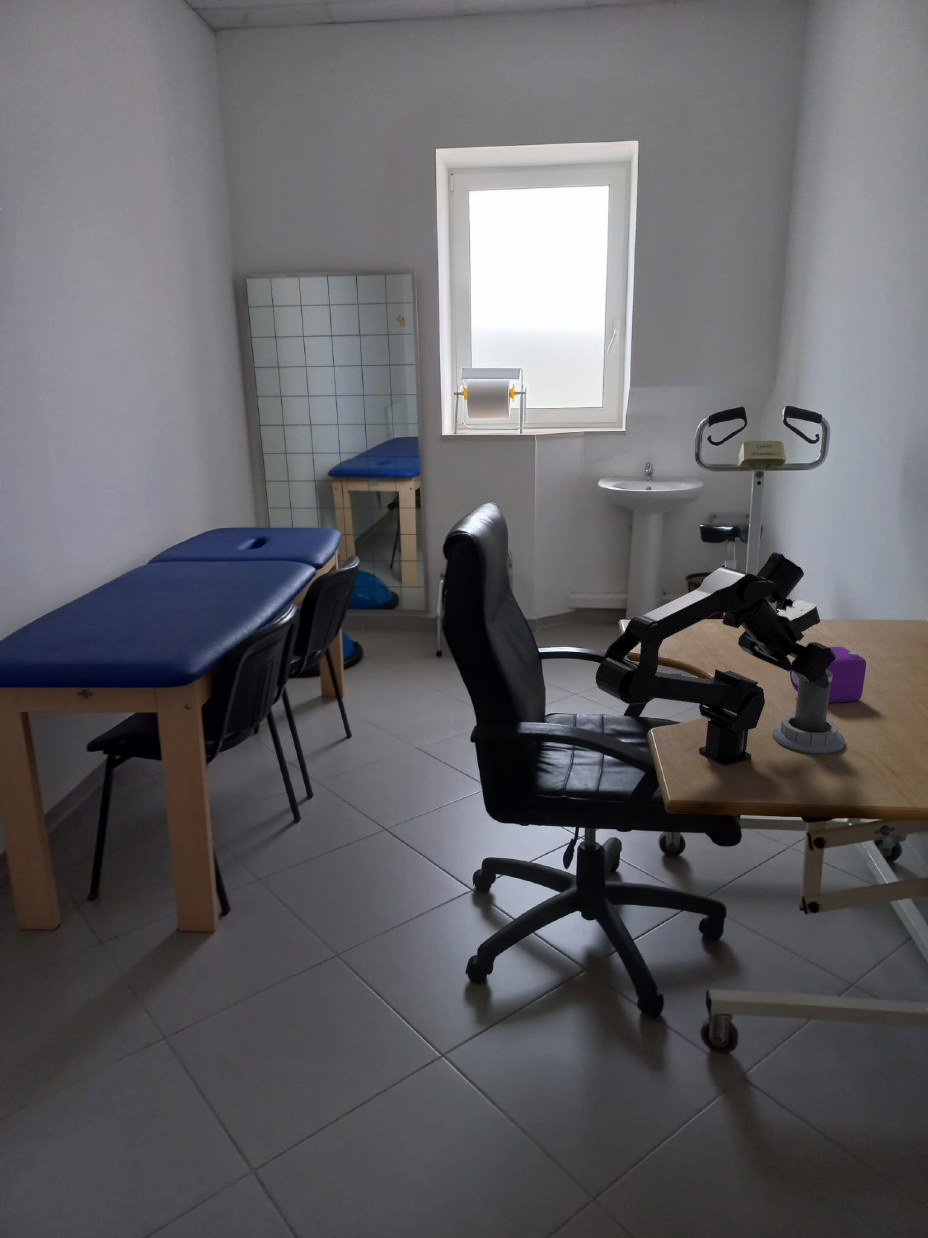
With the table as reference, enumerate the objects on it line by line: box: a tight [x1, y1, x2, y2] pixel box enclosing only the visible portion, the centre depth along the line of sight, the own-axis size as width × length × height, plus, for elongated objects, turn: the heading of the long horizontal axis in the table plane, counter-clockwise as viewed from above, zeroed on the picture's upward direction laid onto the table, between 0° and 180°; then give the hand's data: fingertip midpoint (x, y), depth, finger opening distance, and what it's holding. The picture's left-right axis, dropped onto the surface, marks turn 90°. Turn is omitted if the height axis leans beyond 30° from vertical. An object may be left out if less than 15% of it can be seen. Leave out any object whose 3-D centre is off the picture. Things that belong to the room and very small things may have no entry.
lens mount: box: [772, 714, 846, 755], centre depth 153 cm, size 12×12×3 cm
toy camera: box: [789, 646, 867, 704], centre depth 173 cm, size 11×14×10 cm
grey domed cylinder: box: [794, 670, 832, 733], centre depth 152 cm, size 5×5×12 cm
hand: (808, 677), depth 149 cm, fingers open, 9 cm apart
